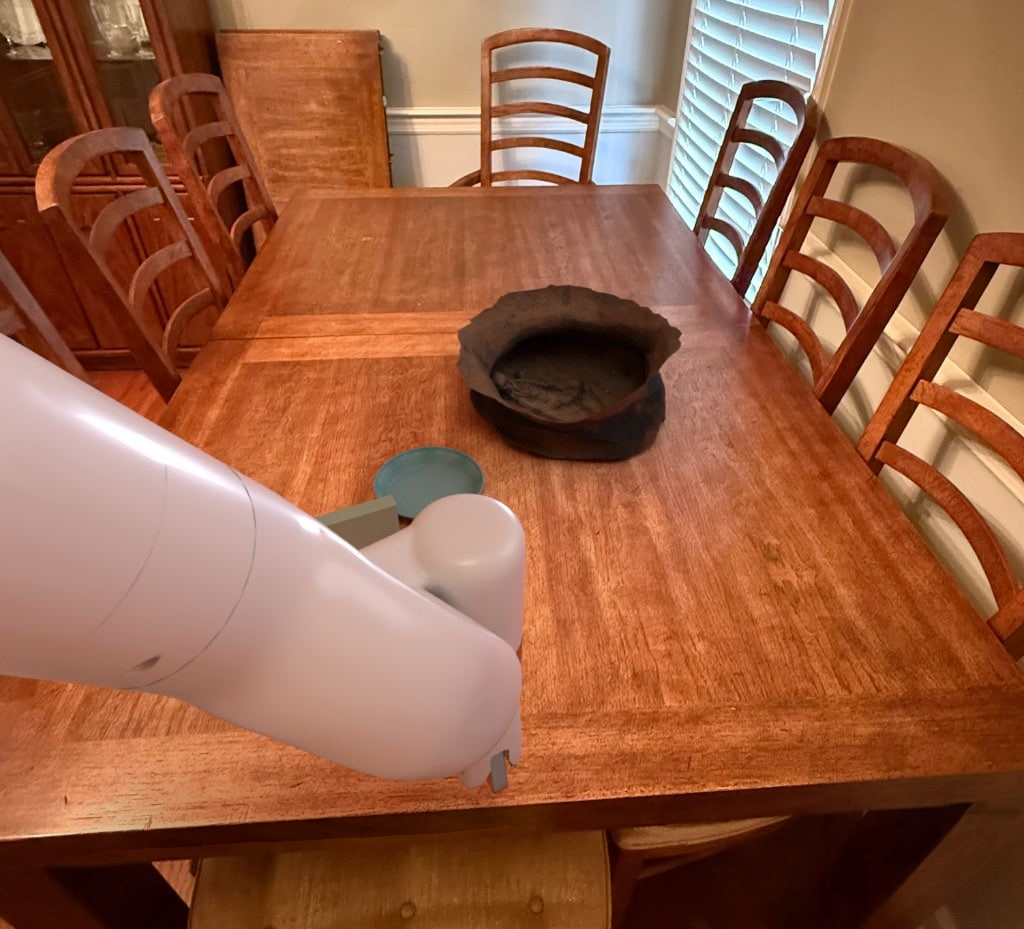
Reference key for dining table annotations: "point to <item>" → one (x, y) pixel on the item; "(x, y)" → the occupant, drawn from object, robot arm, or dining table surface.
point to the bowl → (569, 371)
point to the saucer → (427, 478)
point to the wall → (364, 521)
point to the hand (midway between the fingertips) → (475, 769)
